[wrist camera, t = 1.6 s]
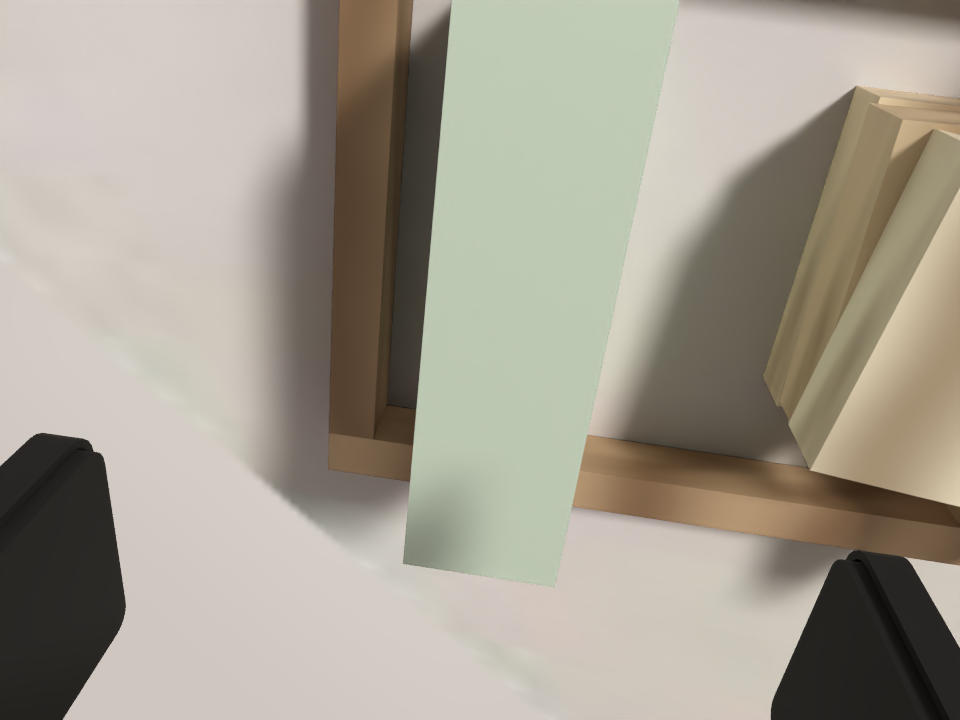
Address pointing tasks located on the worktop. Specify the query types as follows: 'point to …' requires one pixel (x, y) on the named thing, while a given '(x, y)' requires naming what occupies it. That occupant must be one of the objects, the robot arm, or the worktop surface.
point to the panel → (525, 269)
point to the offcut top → (897, 350)
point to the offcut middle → (861, 224)
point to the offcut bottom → (824, 222)
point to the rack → (606, 462)
